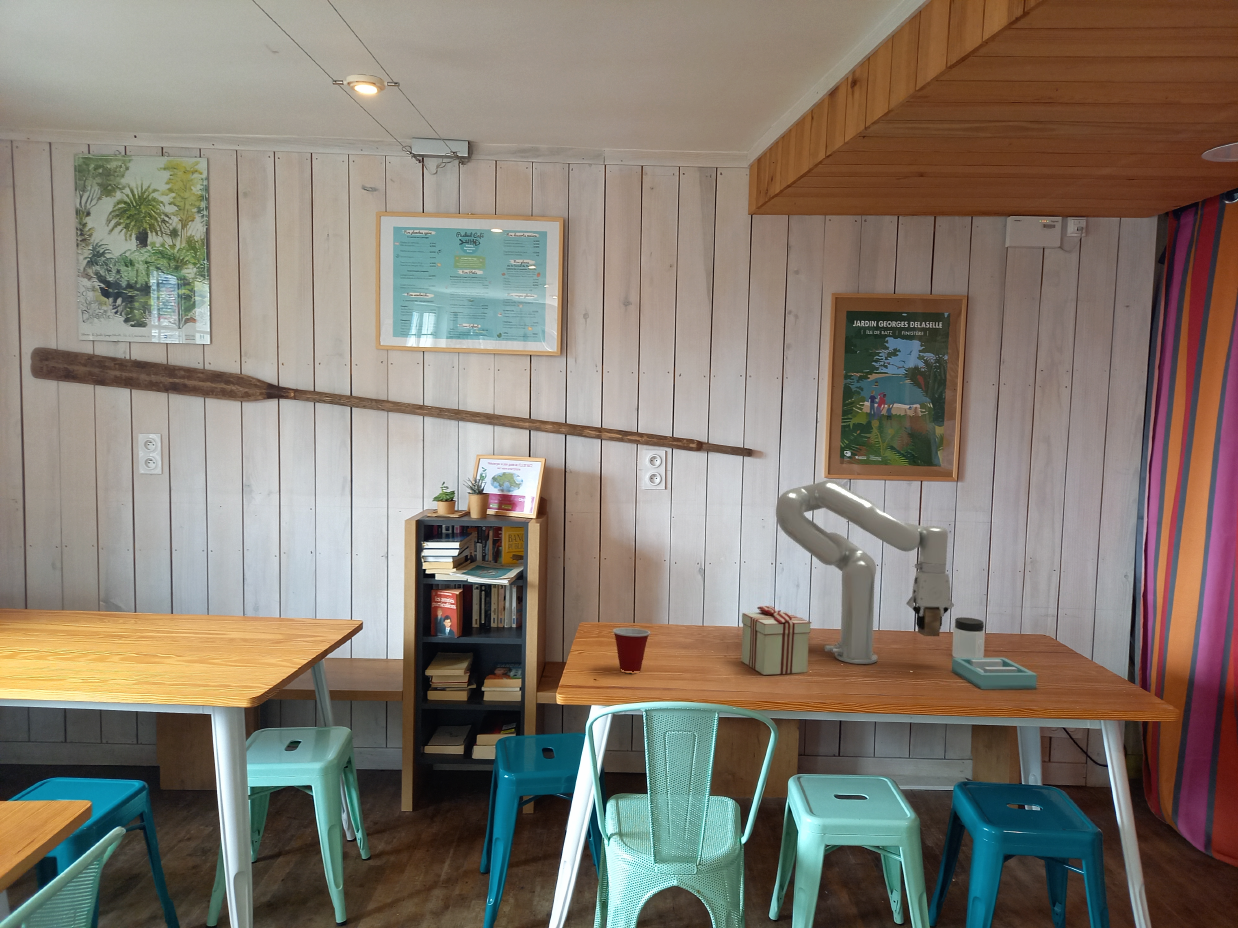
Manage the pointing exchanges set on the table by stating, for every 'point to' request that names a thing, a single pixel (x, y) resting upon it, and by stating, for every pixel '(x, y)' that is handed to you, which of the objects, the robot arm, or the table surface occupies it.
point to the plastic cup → (631, 647)
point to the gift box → (775, 641)
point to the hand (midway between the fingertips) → (928, 627)
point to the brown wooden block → (931, 622)
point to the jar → (968, 638)
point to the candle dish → (994, 673)
